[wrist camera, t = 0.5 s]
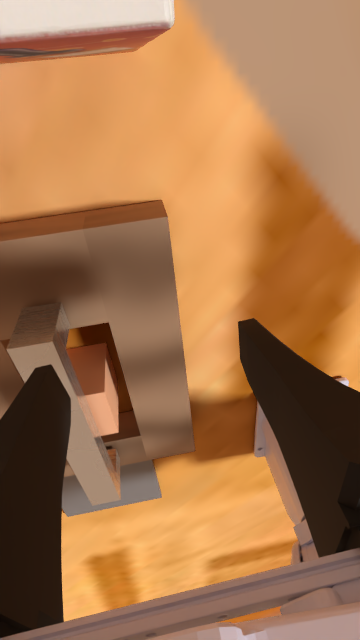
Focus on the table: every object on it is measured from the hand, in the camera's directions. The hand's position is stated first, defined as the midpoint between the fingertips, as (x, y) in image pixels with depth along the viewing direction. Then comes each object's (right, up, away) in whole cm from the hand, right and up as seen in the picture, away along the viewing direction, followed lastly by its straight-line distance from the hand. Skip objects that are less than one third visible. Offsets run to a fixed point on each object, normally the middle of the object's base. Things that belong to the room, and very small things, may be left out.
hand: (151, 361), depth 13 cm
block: (-6, -2, +11) cm, 13 cm away
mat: (-6, -14, +20) cm, 25 cm away
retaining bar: (-5, -4, +9) cm, 11 cm away
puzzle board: (-7, -1, +10) cm, 13 cm away
